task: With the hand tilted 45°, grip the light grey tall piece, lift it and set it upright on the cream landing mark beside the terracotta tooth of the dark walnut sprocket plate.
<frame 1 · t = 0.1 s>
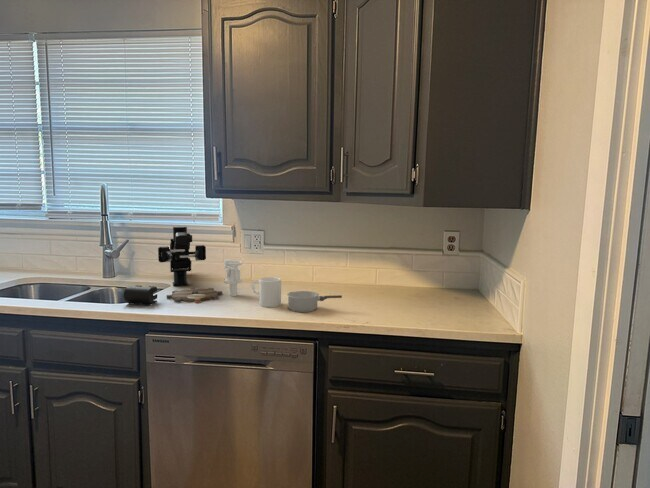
hand: (184, 256, 174), 17 cm above the worktop, tool horizontal, fingers open, 9 cm apart
mug: (265, 304, 167), on the worktop
end cap: (141, 304, 166), on the worktop
light grey tall piece: (233, 295, 181), on the worktop
saucepan: (314, 310, 161), on the worktop
sprocket plate: (195, 296, 178), on the worktop
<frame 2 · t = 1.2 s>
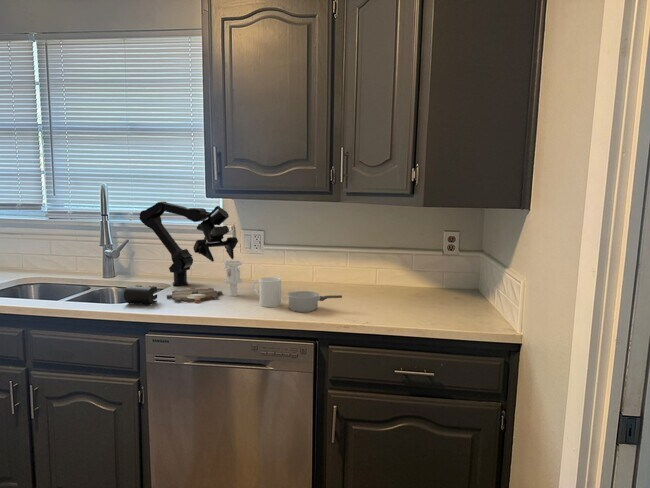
hand: (223, 259, 184), 14 cm above the worktop, tool tilted 45°, fingers open, 9 cm apart
nothing on the worktop moved.
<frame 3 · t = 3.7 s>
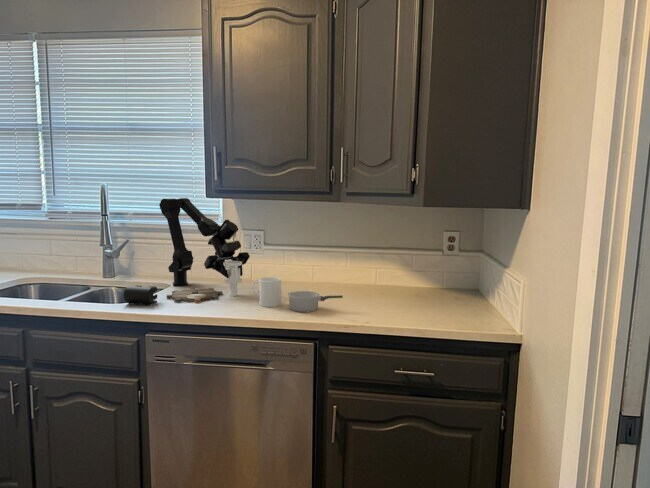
hand: (234, 276, 178), 8 cm above the worktop, tool tilted 45°, fingers closed on light grey tall piece, 6 cm apart
light grey tall piece: (233, 295, 180), on the worktop, touching gripper
everything else where it was.
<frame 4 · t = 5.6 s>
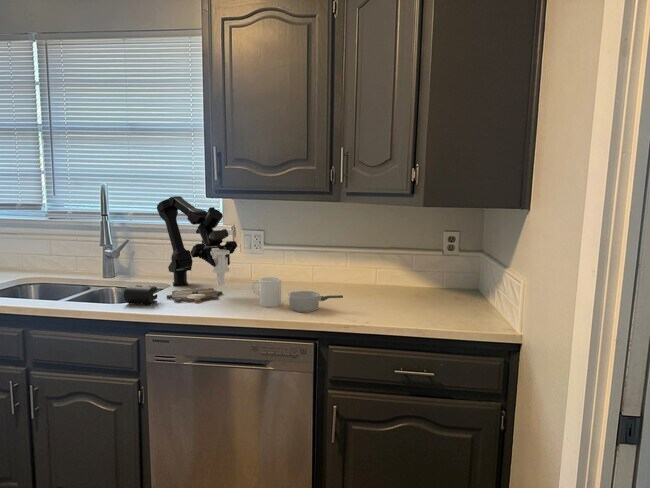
hand: (222, 265, 175), 13 cm above the worktop, tool tilted 45°, fingers closed on light grey tall piece, 6 cm apart
light grey tall piece: (220, 285, 177), point 5 cm above the worktop, touching gripper
everything else where it was.
when the fingers open (10 cm above the worktop, at t = 7.7 s): light grey tall piece stays where it is, resting on sprocket plate.
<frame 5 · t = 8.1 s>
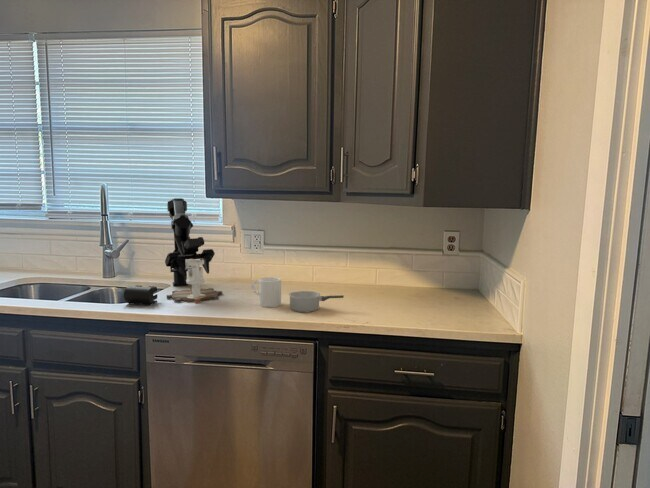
hand: (197, 274, 170), 10 cm above the worktop, tool tilted 45°, fingers open, 9 cm apart
light grey tall piece: (196, 296, 172), point 1 cm above the worktop, touching sprocket plate
everything else where it was.
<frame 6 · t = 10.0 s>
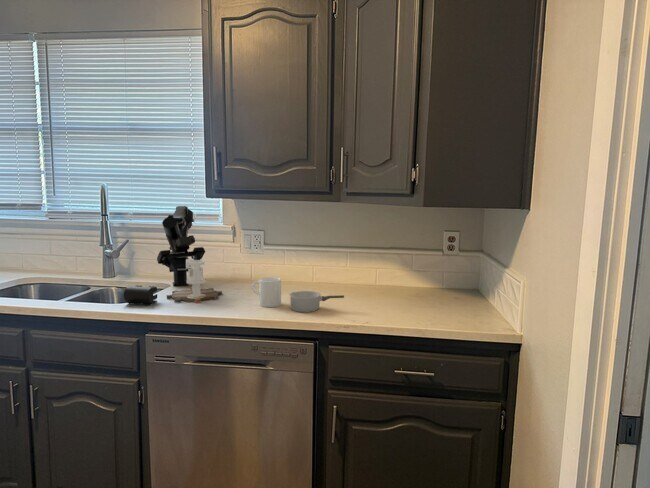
hand: (188, 271, 176), 10 cm above the worktop, tool tilted 45°, fingers open, 9 cm apart
nothing on the worktop moved.
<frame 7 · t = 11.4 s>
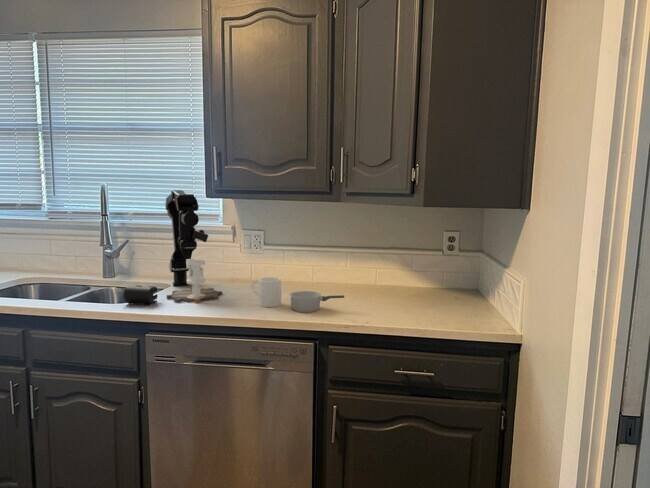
hand: (187, 262, 182), 13 cm above the worktop, tool pointing down, fingers open, 9 cm apart
nothing on the worktop moved.
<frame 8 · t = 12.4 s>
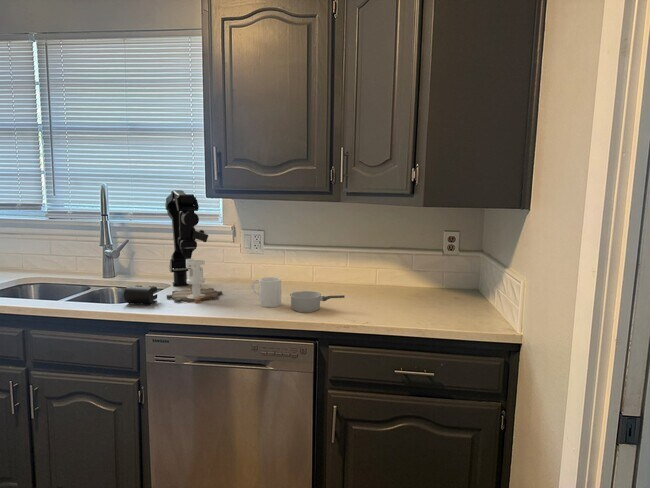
hand: (187, 262, 182), 13 cm above the worktop, tool pointing down, fingers open, 9 cm apart
nothing on the worktop moved.
at the end: light grey tall piece 0.4 cm from the target spot on the sprocket plate, point 1.2 cm above the sprocket plate's base; light grey tall piece tilted 1°; the gripper is holding nothing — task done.
